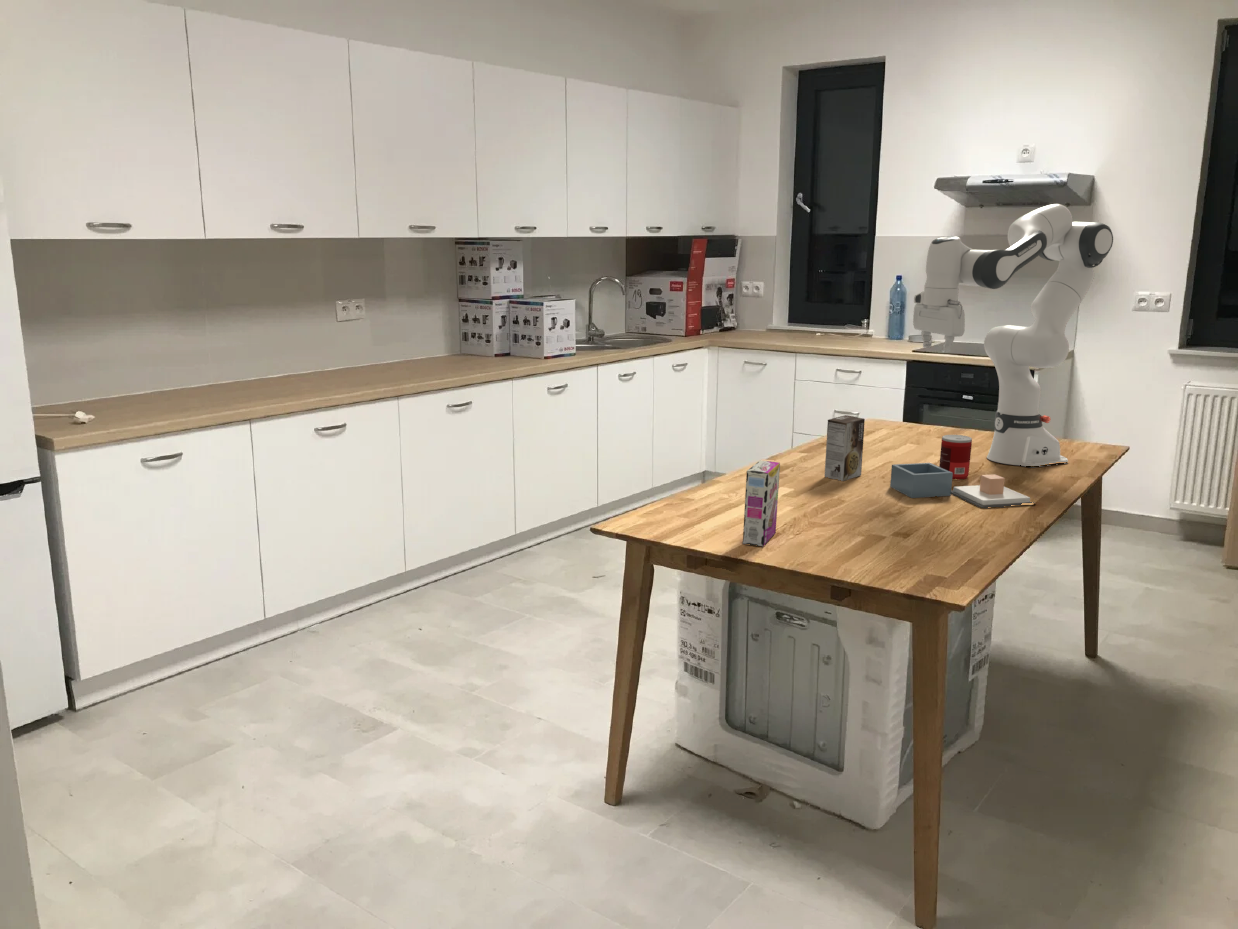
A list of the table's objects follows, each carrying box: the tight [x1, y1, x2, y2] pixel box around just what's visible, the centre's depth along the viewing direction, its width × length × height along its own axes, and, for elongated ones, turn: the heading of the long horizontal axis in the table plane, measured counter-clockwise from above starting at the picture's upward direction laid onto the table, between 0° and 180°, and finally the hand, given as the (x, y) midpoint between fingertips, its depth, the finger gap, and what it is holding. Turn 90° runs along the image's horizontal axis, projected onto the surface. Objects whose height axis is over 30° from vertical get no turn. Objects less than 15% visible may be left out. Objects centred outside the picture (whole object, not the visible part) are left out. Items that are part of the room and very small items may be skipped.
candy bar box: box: [742, 460, 781, 548], centre depth 208 cm, size 11×5×16 cm, turn 157°
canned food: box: [938, 434, 973, 480], centre depth 263 cm, size 8×8×11 cm
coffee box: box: [824, 415, 866, 482], centre depth 261 cm, size 9×6×16 cm
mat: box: [951, 489, 1035, 509], centre depth 243 cm, size 15×15×1 cm
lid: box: [953, 473, 1031, 505], centre depth 242 cm, size 13×13×5 cm
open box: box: [889, 462, 953, 499], centre depth 248 cm, size 11×11×6 cm
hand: (936, 349), depth 262 cm, fingers open, 8 cm apart
